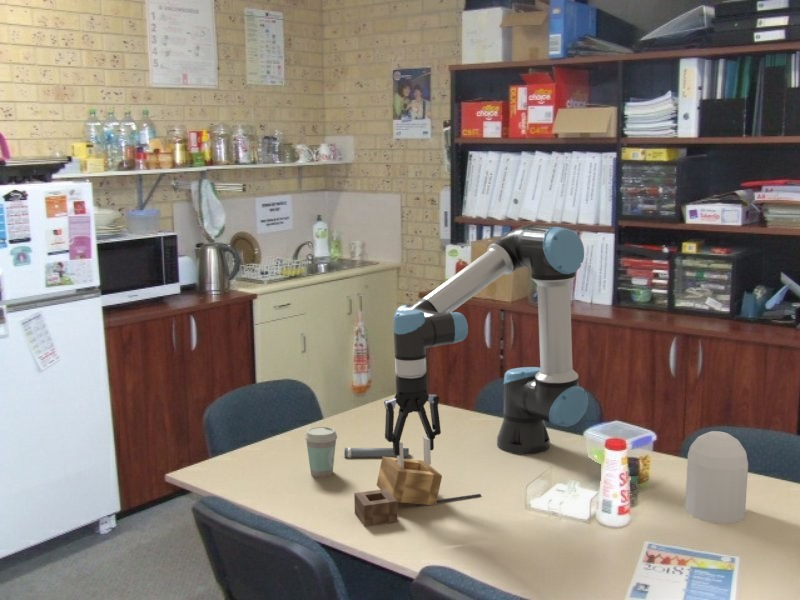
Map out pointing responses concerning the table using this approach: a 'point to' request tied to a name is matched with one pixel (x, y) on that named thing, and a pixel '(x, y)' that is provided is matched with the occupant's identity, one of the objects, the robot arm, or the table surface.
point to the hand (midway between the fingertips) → (414, 464)
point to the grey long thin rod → (455, 498)
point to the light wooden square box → (409, 481)
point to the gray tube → (373, 452)
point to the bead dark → (375, 507)
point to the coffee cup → (321, 450)
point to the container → (716, 478)
